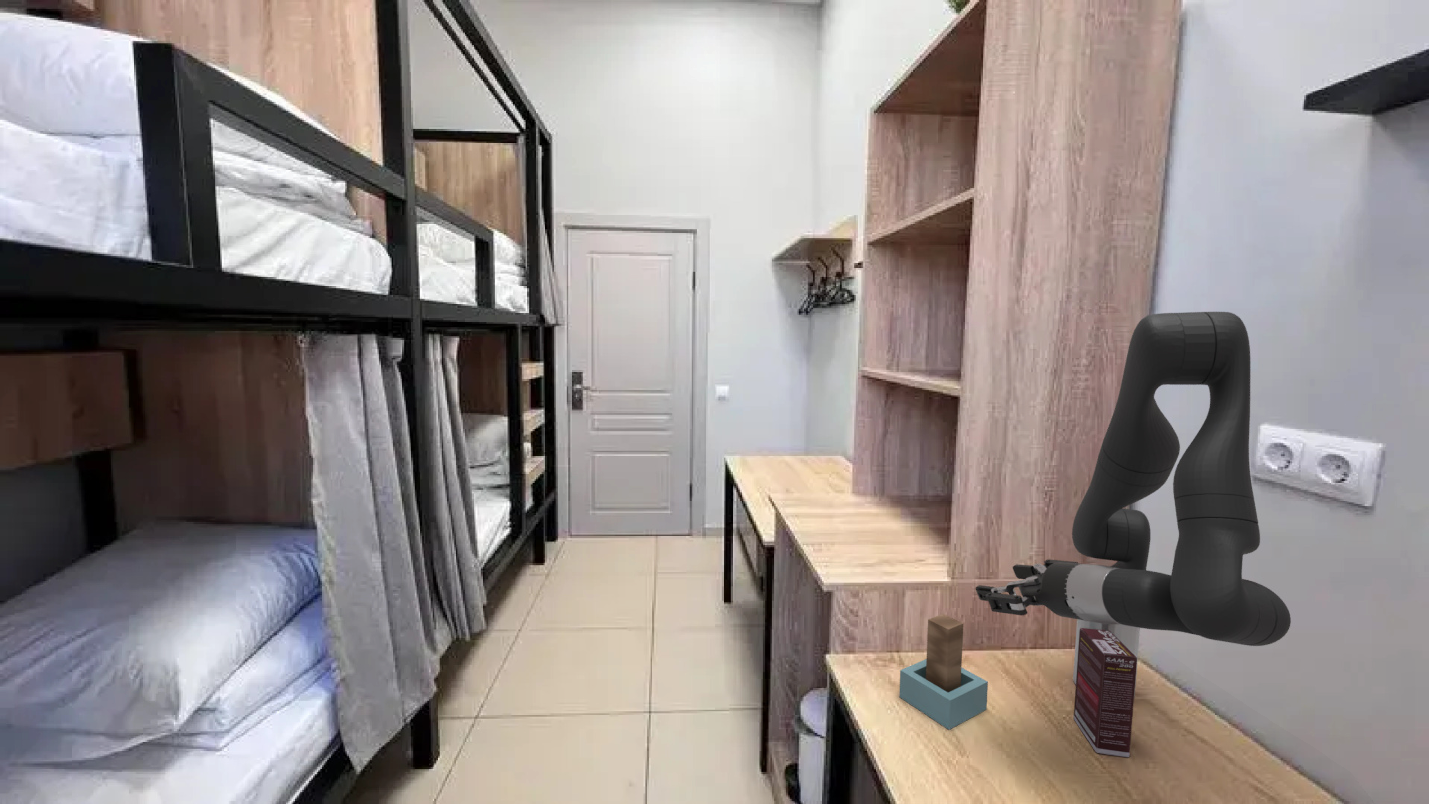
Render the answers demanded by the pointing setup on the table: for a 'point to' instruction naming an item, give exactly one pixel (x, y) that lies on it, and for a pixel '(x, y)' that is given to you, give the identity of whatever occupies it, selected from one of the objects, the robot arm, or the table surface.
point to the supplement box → (1105, 691)
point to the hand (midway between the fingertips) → (997, 581)
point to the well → (943, 696)
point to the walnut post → (944, 652)
